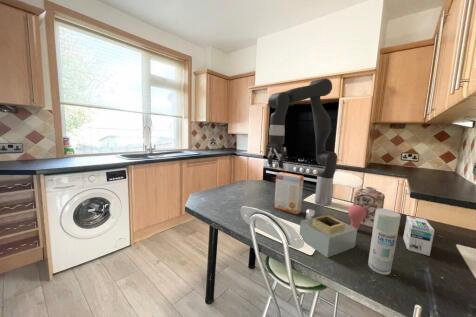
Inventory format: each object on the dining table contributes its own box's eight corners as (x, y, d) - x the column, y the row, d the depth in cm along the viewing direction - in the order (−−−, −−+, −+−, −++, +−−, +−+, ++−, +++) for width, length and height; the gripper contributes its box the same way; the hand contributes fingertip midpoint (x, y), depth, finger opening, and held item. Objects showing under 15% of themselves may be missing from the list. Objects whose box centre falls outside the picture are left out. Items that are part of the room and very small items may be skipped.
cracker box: (301, 212, 109) (304, 175, 106) (296, 215, 105) (299, 177, 102) (278, 205, 118) (281, 171, 115) (273, 208, 114) (276, 173, 111)
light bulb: (361, 227, 94) (364, 203, 92) (365, 234, 87) (369, 209, 86) (344, 224, 96) (347, 201, 95) (347, 231, 90) (350, 206, 88)
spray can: (369, 271, 65) (378, 214, 62) (365, 259, 70) (373, 206, 67) (393, 277, 62) (404, 218, 59) (387, 264, 68) (397, 210, 65)
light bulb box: (430, 256, 73) (435, 230, 72) (407, 250, 77) (411, 224, 75) (422, 243, 82) (427, 219, 81) (402, 238, 86) (406, 215, 84)
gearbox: (325, 230, 90) (327, 211, 89) (354, 247, 78) (357, 225, 76) (299, 238, 83) (301, 217, 81) (327, 257, 71) (329, 233, 69)
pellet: (309, 217, 103) (310, 208, 103) (315, 220, 100) (316, 211, 99) (304, 218, 101) (304, 209, 101) (310, 221, 98) (310, 212, 97)
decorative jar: (381, 221, 101) (386, 188, 98) (377, 229, 93) (383, 193, 90) (355, 214, 109) (359, 183, 106) (349, 221, 101) (354, 187, 98)
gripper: (292, 135, 93) (290, 168, 95) (274, 133, 105) (272, 163, 108) (279, 135, 89) (277, 169, 92) (262, 133, 102) (261, 164, 105)
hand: (275, 166), depth 100 cm, fingers open, 8 cm apart
